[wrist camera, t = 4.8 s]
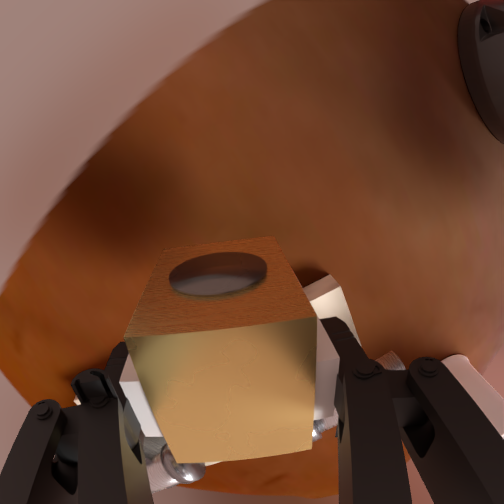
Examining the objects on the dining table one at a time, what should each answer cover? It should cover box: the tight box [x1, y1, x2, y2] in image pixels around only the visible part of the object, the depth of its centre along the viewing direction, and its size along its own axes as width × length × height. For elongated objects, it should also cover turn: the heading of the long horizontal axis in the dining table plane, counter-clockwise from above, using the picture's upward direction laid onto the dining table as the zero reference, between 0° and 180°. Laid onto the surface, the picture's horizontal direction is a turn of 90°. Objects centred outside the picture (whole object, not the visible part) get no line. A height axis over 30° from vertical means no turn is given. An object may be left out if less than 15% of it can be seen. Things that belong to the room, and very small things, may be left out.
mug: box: [441, 354, 504, 439], centre depth 23 cm, size 12×8×12 cm
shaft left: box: [139, 428, 206, 493], centre depth 21 cm, size 8×5×5 cm, turn 130°
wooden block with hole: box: [124, 236, 317, 463], centre depth 12 cm, size 6×5×7 cm
